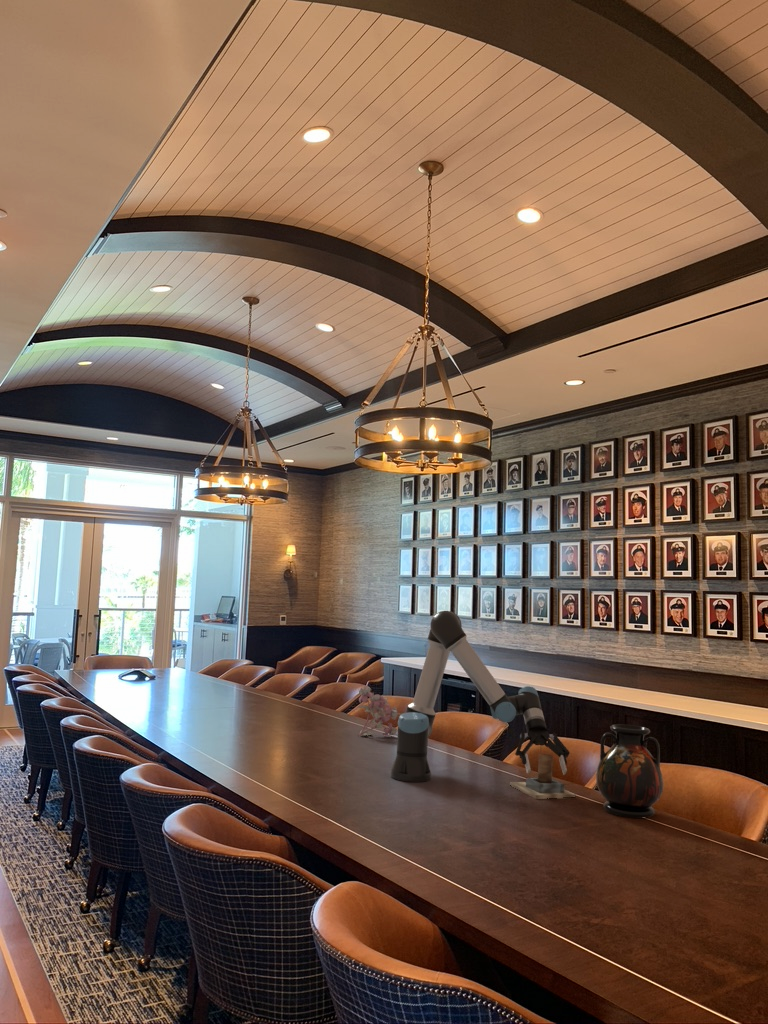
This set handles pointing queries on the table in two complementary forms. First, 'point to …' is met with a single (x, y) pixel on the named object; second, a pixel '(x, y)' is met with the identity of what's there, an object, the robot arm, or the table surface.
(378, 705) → the flower
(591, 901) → the table surface
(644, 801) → the amphora vase
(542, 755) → the walnut peg
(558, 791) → the maple board
